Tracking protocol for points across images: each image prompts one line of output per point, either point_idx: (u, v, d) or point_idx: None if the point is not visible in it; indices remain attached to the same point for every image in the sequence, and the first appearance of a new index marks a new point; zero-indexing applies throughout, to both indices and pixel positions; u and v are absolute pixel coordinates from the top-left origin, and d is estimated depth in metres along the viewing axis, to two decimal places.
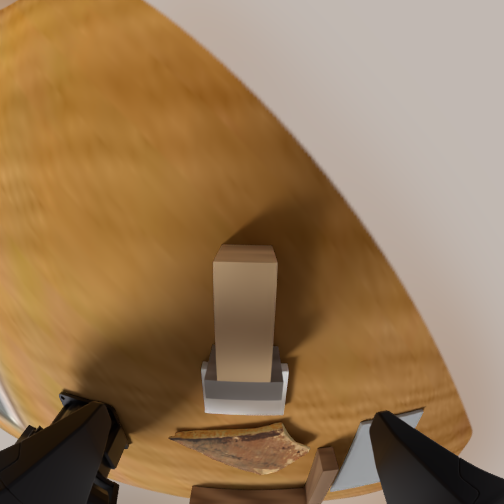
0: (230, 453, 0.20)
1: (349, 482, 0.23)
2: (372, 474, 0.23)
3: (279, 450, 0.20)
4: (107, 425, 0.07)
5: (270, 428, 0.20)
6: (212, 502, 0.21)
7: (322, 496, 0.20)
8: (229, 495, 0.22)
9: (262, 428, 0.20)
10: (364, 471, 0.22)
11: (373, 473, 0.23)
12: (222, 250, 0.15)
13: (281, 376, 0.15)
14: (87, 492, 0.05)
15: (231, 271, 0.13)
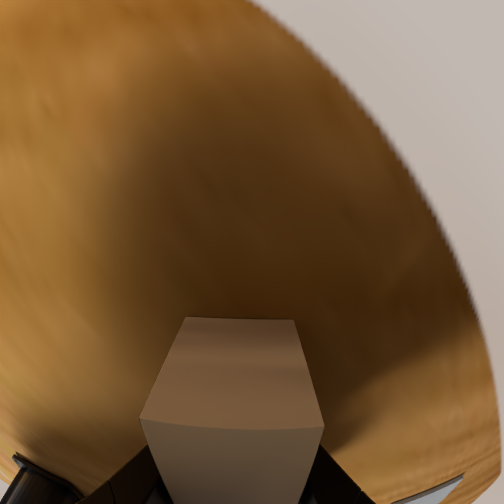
0: None
1: None
2: None
3: None
4: None
5: None
6: None
7: None
8: None
9: None
10: None
11: None
12: (179, 348, 0.06)
13: None
14: None
15: (192, 441, 0.04)
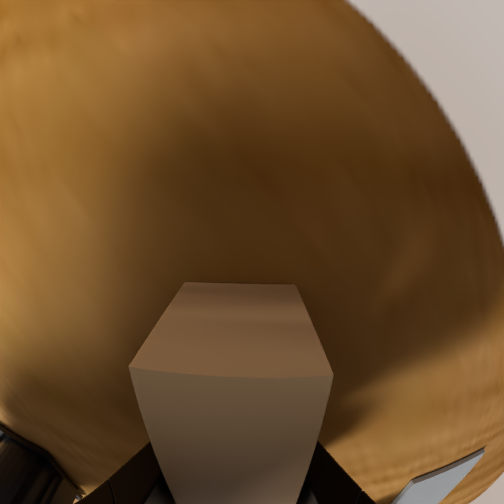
0: None
1: None
2: None
3: None
4: None
5: None
6: None
7: None
8: None
9: None
10: None
11: None
12: (177, 306, 0.06)
13: None
14: None
15: (186, 396, 0.04)
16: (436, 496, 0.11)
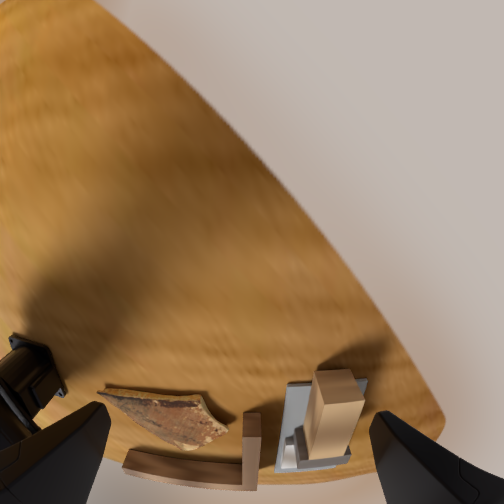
0: (151, 418, 0.21)
1: None
2: None
3: (197, 424, 0.21)
4: (107, 425, 0.07)
5: (189, 397, 0.21)
6: (144, 467, 0.22)
7: (255, 473, 0.20)
8: (162, 462, 0.23)
9: (181, 397, 0.21)
10: None
11: None
12: (320, 383, 0.19)
13: (349, 450, 0.18)
14: (87, 492, 0.05)
15: (335, 408, 0.16)
16: None
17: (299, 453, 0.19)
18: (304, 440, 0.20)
